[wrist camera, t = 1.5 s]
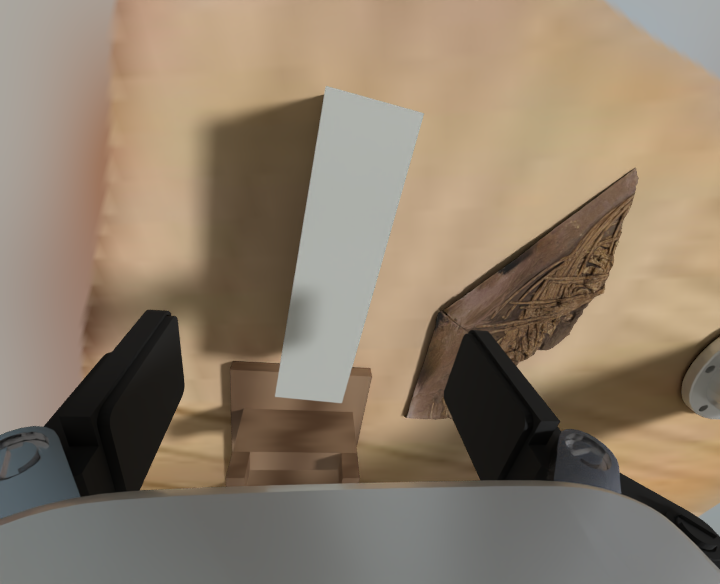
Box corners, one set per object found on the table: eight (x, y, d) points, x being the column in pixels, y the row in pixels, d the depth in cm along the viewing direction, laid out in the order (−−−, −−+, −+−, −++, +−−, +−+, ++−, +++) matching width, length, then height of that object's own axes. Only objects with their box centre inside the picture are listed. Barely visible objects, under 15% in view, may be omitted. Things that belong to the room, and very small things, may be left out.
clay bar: (391, 113, 20) (424, 113, 14) (336, 336, 27) (341, 403, 21) (324, 94, 19) (325, 86, 13) (285, 329, 26) (274, 396, 20)
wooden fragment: (449, 434, 34) (453, 443, 33) (360, 392, 30) (362, 401, 29) (678, 225, 25) (692, 229, 25) (596, 131, 22) (608, 132, 21)
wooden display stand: (370, 368, 28) (384, 439, 22) (340, 510, 37) (344, 588, 31) (233, 361, 27) (206, 436, 20) (236, 511, 36) (218, 595, 29)
